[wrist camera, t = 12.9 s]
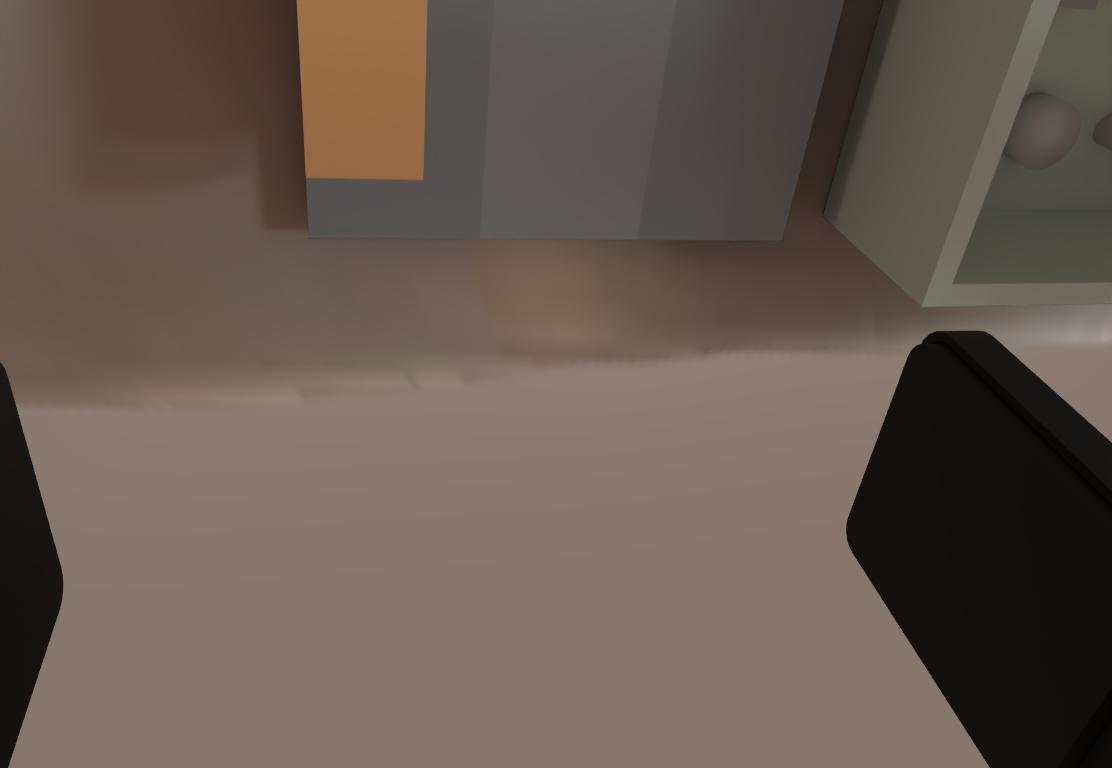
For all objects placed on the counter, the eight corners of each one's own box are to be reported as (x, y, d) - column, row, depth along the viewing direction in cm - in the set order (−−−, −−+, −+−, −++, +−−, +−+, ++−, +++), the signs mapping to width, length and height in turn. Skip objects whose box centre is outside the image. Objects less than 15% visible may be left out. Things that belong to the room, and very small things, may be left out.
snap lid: (867, -209, 27) (994, -201, 22) (762, 220, 34) (839, 300, 29) (284, -285, 23) (273, -296, 18) (309, 215, 30) (307, 307, 25)
